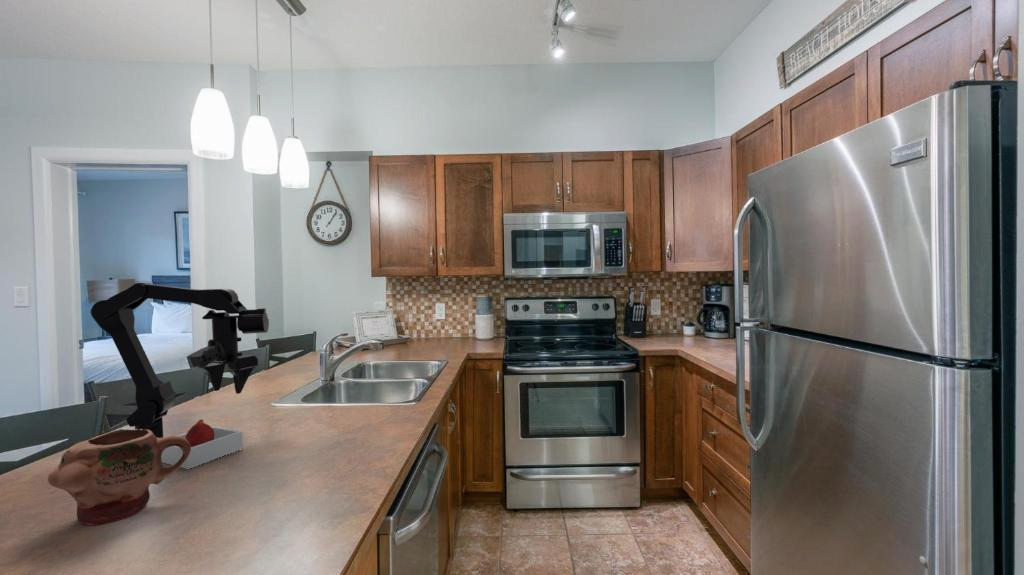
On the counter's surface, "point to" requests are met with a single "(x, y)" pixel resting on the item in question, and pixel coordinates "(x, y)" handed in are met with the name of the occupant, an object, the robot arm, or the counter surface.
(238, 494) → the counter surface
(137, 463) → the tan novelty mug
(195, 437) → the onion
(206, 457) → the bin
